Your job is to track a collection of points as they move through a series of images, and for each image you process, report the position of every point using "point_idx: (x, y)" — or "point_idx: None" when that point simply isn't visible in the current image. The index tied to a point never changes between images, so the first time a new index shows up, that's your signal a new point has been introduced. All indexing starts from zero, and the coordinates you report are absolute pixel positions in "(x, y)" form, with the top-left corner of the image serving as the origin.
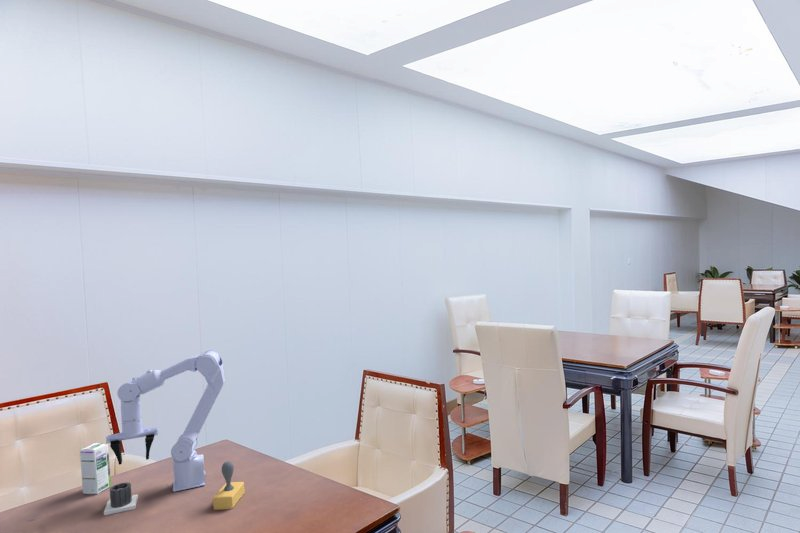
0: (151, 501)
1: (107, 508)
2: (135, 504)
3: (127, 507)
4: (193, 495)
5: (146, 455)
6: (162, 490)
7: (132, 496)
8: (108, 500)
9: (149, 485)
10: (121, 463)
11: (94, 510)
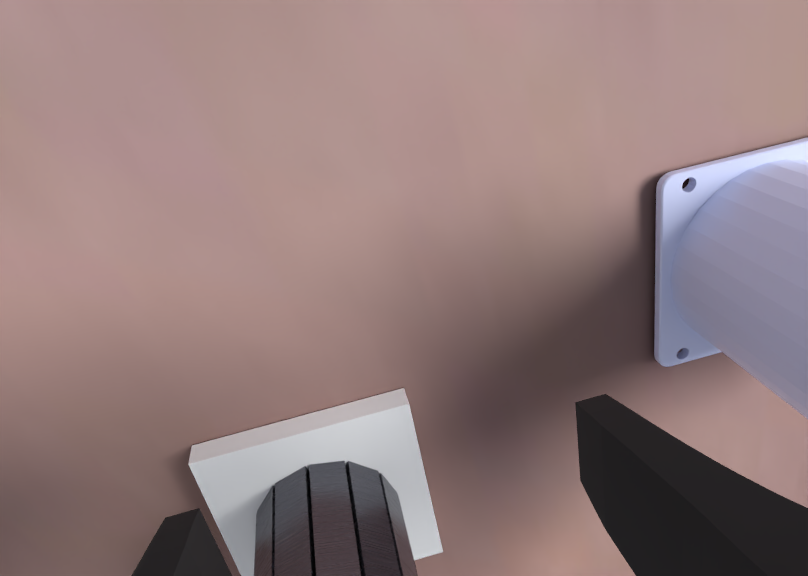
0: (520, 458)
1: None
2: (436, 526)
3: None
4: (771, 424)
5: (627, 549)
6: (572, 305)
7: (378, 433)
8: (192, 465)
9: (438, 166)
10: (225, 567)
11: (134, 522)
